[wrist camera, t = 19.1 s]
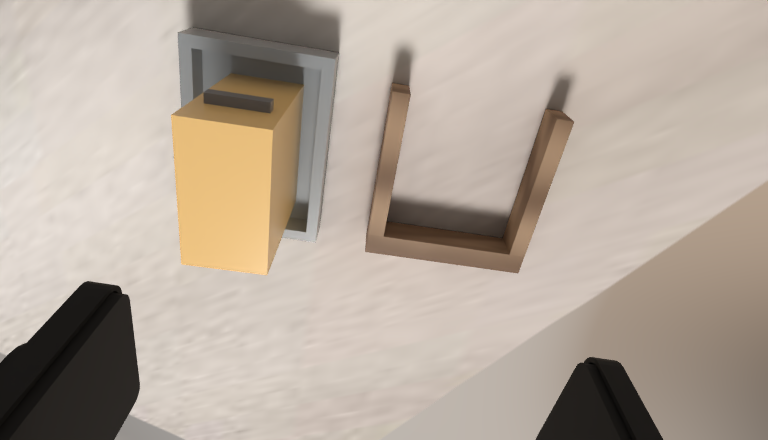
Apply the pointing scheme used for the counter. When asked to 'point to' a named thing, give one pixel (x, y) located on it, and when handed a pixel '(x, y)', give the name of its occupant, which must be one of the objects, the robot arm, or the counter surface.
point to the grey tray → (283, 63)
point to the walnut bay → (452, 243)
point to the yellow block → (237, 171)
